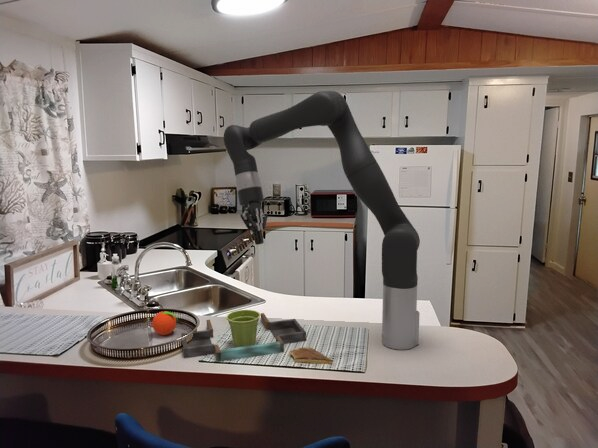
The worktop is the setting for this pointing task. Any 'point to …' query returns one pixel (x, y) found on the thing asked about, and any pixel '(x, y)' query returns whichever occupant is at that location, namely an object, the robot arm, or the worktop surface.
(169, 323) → the clementine
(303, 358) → the shard
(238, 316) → the plant pot
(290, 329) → the two-trap channel
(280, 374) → the worktop surface
